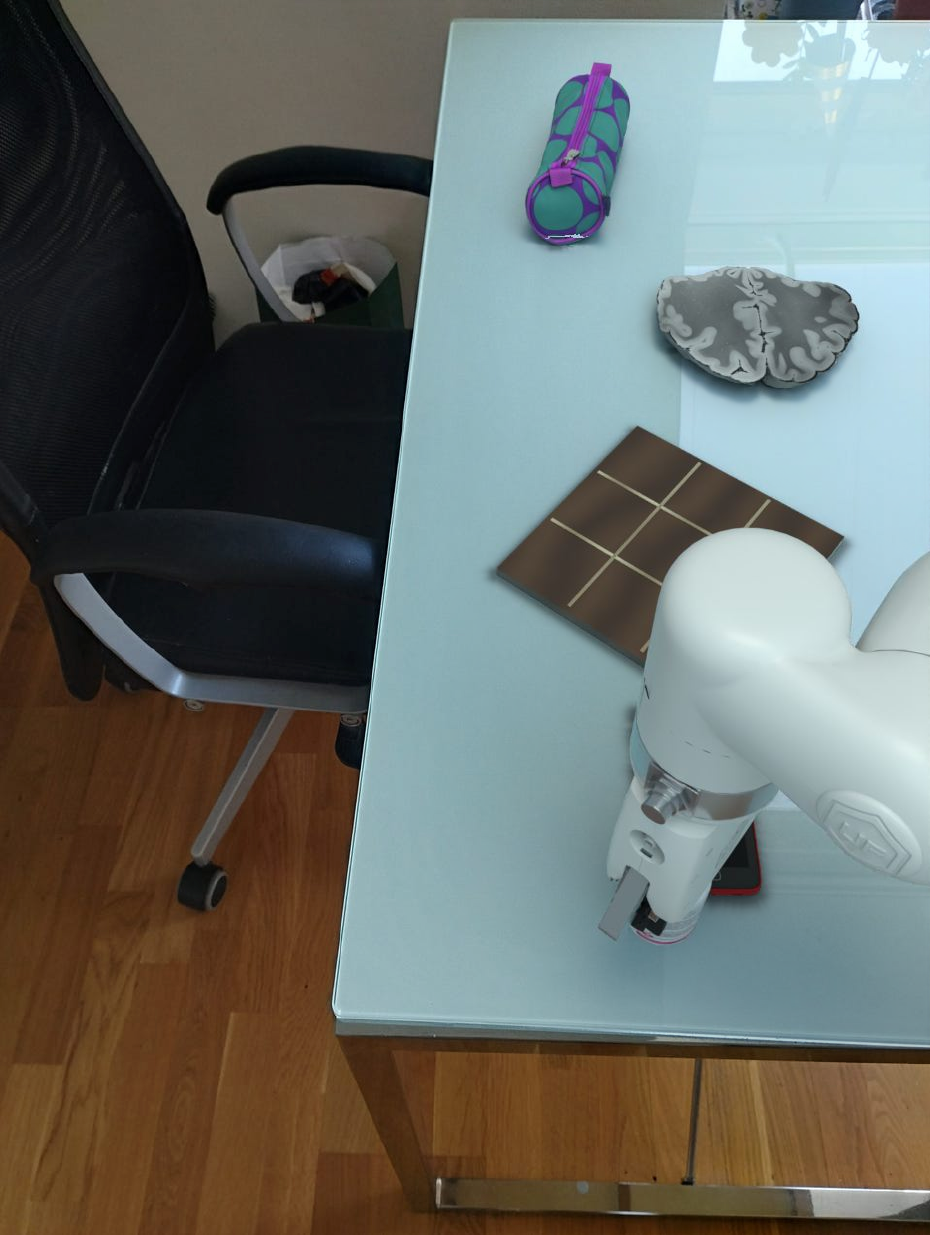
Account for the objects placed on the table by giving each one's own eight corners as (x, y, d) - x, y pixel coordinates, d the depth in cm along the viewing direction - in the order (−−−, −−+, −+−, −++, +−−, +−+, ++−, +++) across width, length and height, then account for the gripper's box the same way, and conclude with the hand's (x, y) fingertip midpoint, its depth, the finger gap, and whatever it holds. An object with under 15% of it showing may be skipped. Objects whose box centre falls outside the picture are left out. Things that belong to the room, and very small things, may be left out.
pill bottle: (712, 918, 68) (736, 863, 61) (658, 962, 66) (676, 911, 60) (661, 862, 70) (679, 804, 64) (607, 904, 69) (620, 848, 62)
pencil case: (604, 256, 112) (614, 173, 105) (522, 246, 114) (525, 164, 106) (627, 146, 124) (637, 65, 116) (552, 138, 125) (558, 57, 117)
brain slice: (659, 405, 100) (664, 382, 97) (647, 289, 109) (651, 265, 107) (869, 409, 99) (879, 385, 97) (838, 292, 109) (847, 267, 106)
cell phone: (648, 895, 73) (650, 890, 72) (634, 709, 81) (635, 702, 80) (761, 898, 72) (764, 893, 72) (735, 710, 81) (738, 704, 80)
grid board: (841, 543, 90) (845, 535, 89) (712, 711, 81) (715, 704, 80) (636, 432, 98) (637, 424, 97) (496, 574, 89) (496, 566, 88)
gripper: (682, 925, 45) (638, 1035, 60) (865, 663, 53) (786, 818, 68) (541, 825, 48) (533, 953, 63) (734, 589, 56) (685, 754, 71)
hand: (664, 882), depth 65 cm, fingers closed on pill bottle, 4 cm apart
